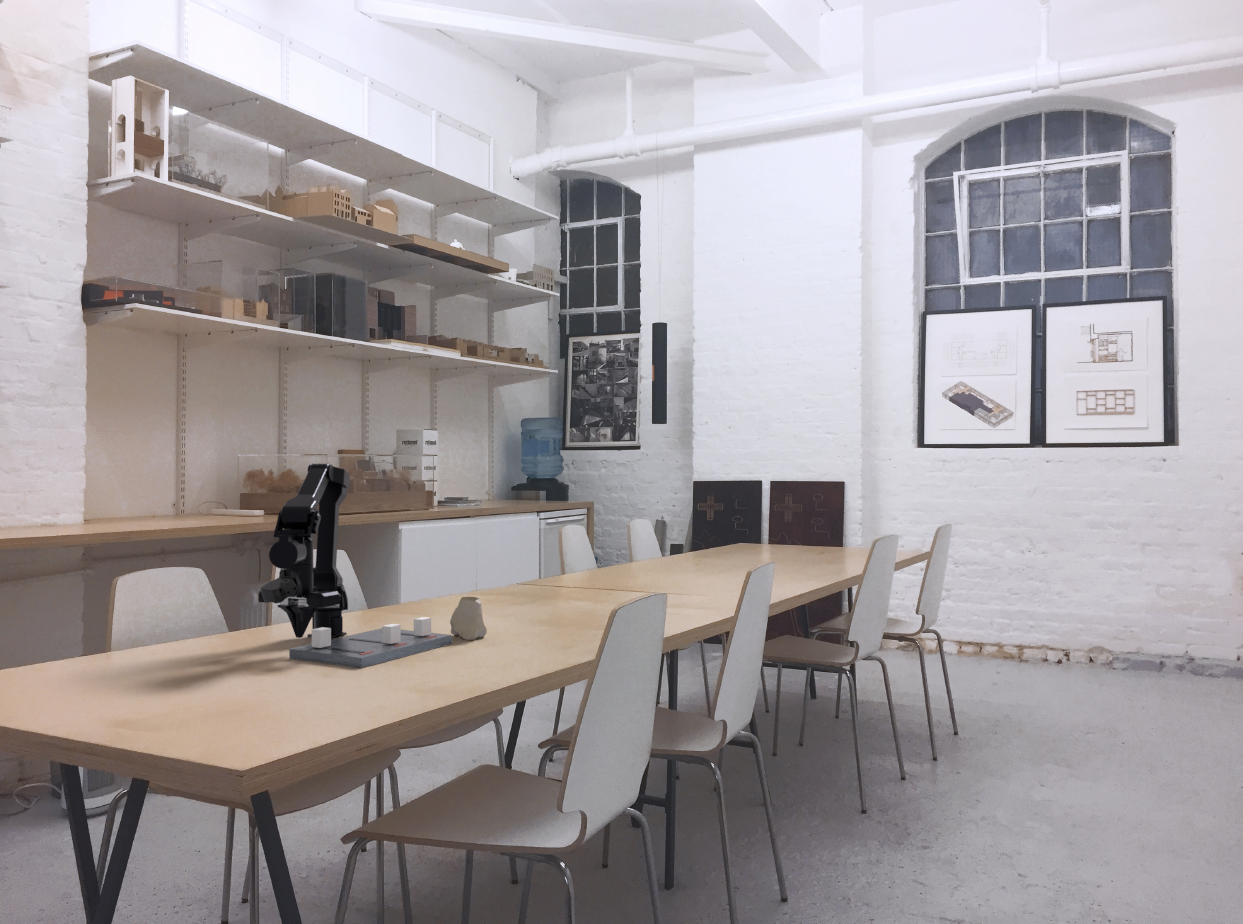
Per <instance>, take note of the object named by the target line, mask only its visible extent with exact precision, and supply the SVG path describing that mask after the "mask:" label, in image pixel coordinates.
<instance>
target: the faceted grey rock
mask: <svg viewBox="0 0 1243 924" xmlns="http://www.w3.org/2000/svg"><path fill="white" fill-rule="evenodd" d="M458 602H459V603H458V605H457V607H455V609H454V611H453V612H452V615H451V617H450V620H449V624H450V633H451V634H450V635H452V636H454V637H459V636H460V637H461V638H463V640H465V641H471V640H473V641H474V640H476V639H477V638H485V635H487V633H488V632H487V631H488V630H487V627H486V625H485V623H484V618H483V617H484V616H483V609H482V601H481V599H480V598H479V597H476V596H462V597H461V598H460V600H459V601H458Z"/></svg>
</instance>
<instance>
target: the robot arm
mask: <svg viewBox="0 0 1243 924" xmlns="http://www.w3.org/2000/svg"><path fill="white" fill-rule="evenodd" d="M350 475H351V474H349V472H348V471H347V470H346V469H344V468H340V467H337V466H334V465H333V464H329V463H312V464H308V466H307V474H306V476H305V478H304V480H303V482H302V484H301V486H300V488H299V490H298V493H297V495H296V496H295V497H292V498H291V499H288V500H287V501H286V502H285V503H284V504H283V506H282V508H281V509H280V510H279V512H278V515H277V516H278V517H277V521H276V525H275V528H274V533H273V538H274V539H275V538H276V539H278V541H276V542H275V543H274V544H273V545H272V546H271V547H270V550H269V553H268V558H269V560H270V563H271V564H272V566H274V567H275V568H276V569H277V568H278V569H280V571H279V575H278V577H277V578H275V579H273V580H271V581H269V582H268V583H265V584H264V585H262V586H261V587H260V591H258V603H264V604H265V603H266V604H267V603H274V604H278V605H276V607H277V608H279V609H281V610H282V611H284V612H285V613H286V614H287V617H288V619H289V621H290V624H291V627H292V630H293V632H294V635H295V638H296V639H301V638H303V637H304V635H305V632H306V631H307V629H308V626H309V624H310V622H311V620H312V624H311V625H312V629H317V628H321V627H325V628H331V639H334V638H339V637H341V636H342V637H343V636H347V635H348V634H347V632H345V631H343V630H344V629H343V620H344V619H343V617H344V616H343V615H342V614H343V612H342V611H347V610H349V598H348V594H347V590H346V588H345V585H344V584H343V582H344V581H343V577H342V575H341V573H340V572H339V570H338V568H337V557H338V556H337V554H338V537H339V521H340V520H339V517H340V506H341V505H342V503H343V502H344V500H345V499H346V498H347V496H348V488H349V487H350V486H351V477H350ZM316 534H317V537H316V552H315V553H316V554H315V555H316V556H315V566H314V537H315V535H316ZM312 629H311V630H312ZM307 637H308V638H312V633H309V634H308V633H307Z"/></svg>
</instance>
